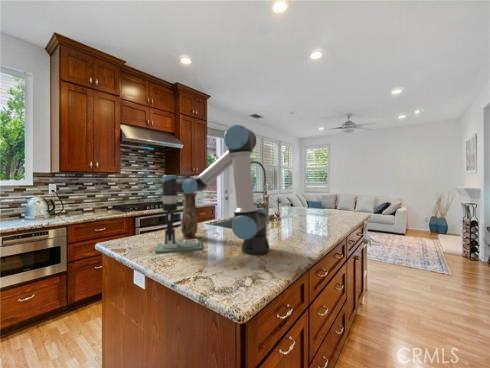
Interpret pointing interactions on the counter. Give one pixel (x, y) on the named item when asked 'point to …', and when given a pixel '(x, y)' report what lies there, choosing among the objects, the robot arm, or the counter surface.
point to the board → (179, 246)
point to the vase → (189, 217)
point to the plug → (172, 233)
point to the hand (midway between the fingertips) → (170, 244)
